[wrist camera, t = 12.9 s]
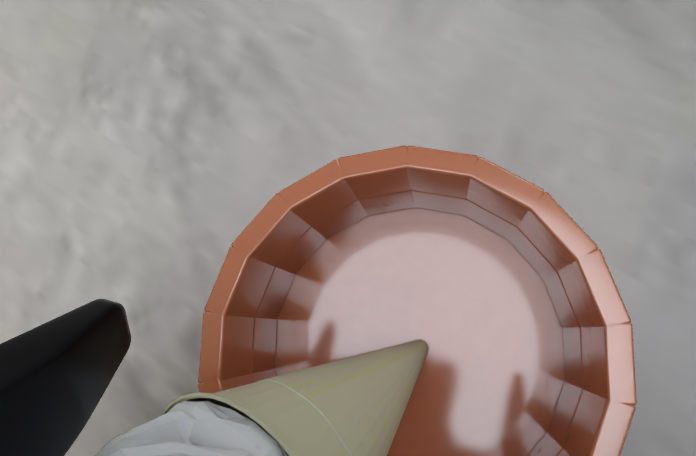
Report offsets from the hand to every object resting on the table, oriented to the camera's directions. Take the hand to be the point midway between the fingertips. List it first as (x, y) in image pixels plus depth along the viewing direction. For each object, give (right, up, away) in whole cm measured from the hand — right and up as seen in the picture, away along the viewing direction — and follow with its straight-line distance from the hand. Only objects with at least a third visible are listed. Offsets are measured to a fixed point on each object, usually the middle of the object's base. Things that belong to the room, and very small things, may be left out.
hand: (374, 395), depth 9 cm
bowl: (+2, -1, +10) cm, 10 cm away
